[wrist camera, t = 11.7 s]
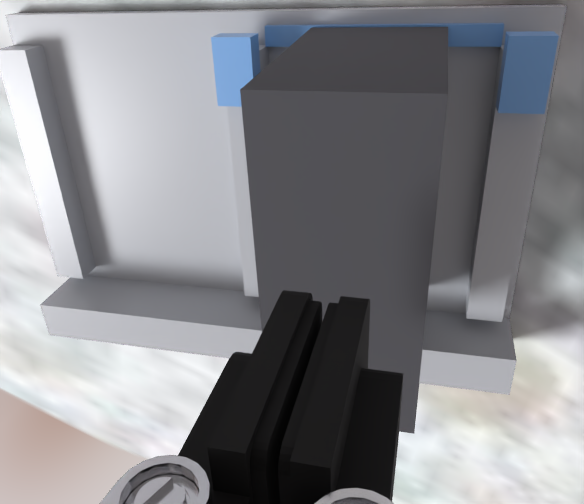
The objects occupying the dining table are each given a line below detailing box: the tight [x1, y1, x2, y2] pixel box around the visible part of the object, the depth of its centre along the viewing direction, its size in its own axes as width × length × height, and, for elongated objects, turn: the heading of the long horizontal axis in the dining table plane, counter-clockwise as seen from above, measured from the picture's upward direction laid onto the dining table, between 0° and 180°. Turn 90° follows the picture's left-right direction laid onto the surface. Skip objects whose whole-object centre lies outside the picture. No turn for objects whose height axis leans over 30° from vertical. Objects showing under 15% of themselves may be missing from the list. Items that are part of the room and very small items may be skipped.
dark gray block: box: [240, 27, 448, 433], centre depth 16 cm, size 9×4×7 cm, turn 2°
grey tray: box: [0, 4, 567, 395], centre depth 20 cm, size 12×18×3 cm, turn 92°
